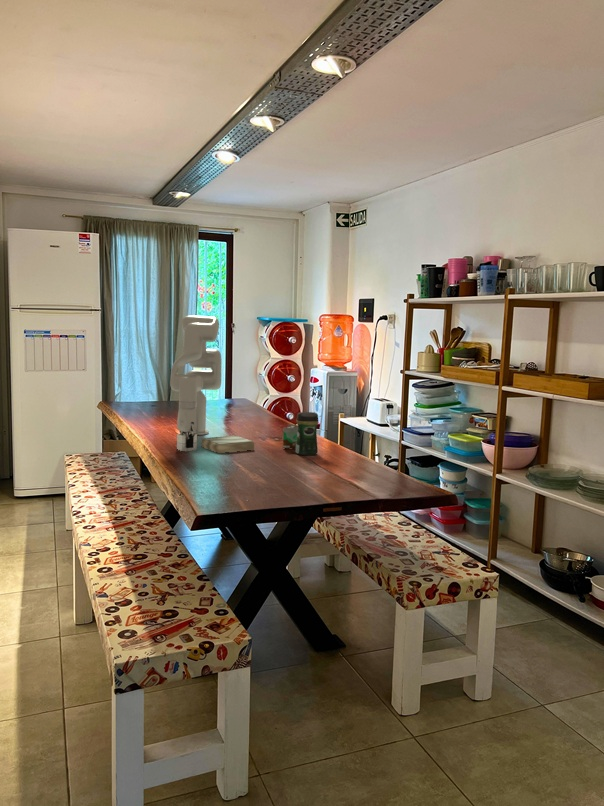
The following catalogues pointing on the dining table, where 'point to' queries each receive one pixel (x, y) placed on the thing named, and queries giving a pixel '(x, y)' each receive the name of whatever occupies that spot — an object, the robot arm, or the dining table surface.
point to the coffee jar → (307, 433)
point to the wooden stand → (227, 444)
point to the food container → (290, 436)
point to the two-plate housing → (182, 442)
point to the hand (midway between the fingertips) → (186, 446)
